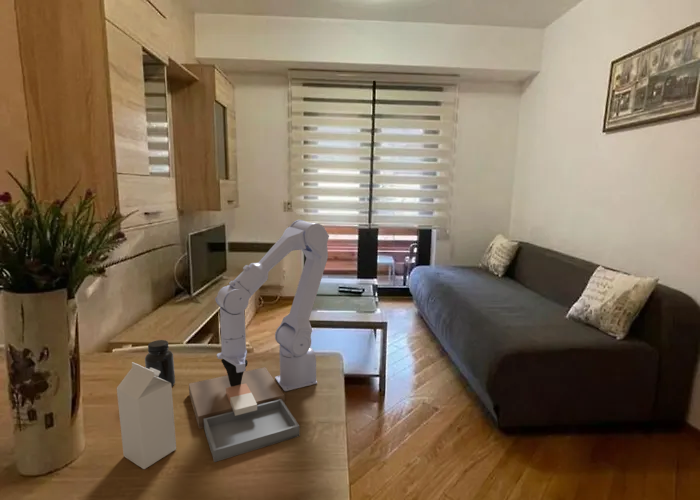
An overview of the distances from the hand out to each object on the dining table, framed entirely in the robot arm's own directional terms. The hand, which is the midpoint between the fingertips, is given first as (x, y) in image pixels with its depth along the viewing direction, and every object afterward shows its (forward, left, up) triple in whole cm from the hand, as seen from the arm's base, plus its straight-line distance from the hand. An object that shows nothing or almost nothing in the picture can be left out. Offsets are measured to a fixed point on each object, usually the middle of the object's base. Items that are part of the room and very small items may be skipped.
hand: (235, 386), depth 103 cm
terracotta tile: (0, +3, -1) cm, 3 cm away
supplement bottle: (+16, -16, -4) cm, 23 cm away
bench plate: (0, 0, -4) cm, 4 cm away
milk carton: (+20, +12, -4) cm, 24 cm away
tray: (0, +14, -4) cm, 15 cm away
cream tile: (0, +8, -1) cm, 8 cm away
